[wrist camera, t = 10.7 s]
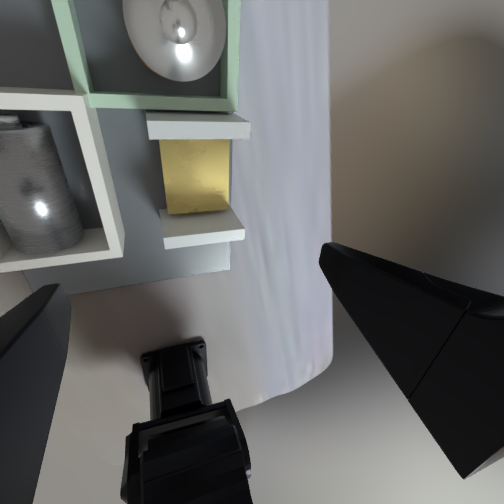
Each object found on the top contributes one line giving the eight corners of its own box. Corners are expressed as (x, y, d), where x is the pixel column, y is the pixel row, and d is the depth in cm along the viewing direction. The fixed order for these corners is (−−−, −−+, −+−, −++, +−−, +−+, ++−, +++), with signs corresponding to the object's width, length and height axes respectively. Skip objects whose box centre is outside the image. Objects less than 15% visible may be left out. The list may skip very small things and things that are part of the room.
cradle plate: (224, 203, 19) (228, 209, 18) (166, 208, 18) (168, 214, 17) (225, 134, 17) (229, 138, 16) (157, 134, 15) (158, 138, 15)
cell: (201, 79, 15) (229, 84, 10) (136, 75, 14) (132, 80, 9) (197, -3, 13) (230, -47, 8) (122, -13, 12) (107, -70, 7)
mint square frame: (228, 265, 24) (243, 299, 21) (39, 294, 20) (17, 344, 16) (232, -33, 14) (266, -67, 10) (-169, -113, 9) (-362, -224, 6)
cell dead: (93, 224, 17) (68, 254, 14) (36, 224, 17) (-1, 254, 14) (59, 112, 14) (17, 123, 11) (-14, 108, 13) (-77, 118, 11)
